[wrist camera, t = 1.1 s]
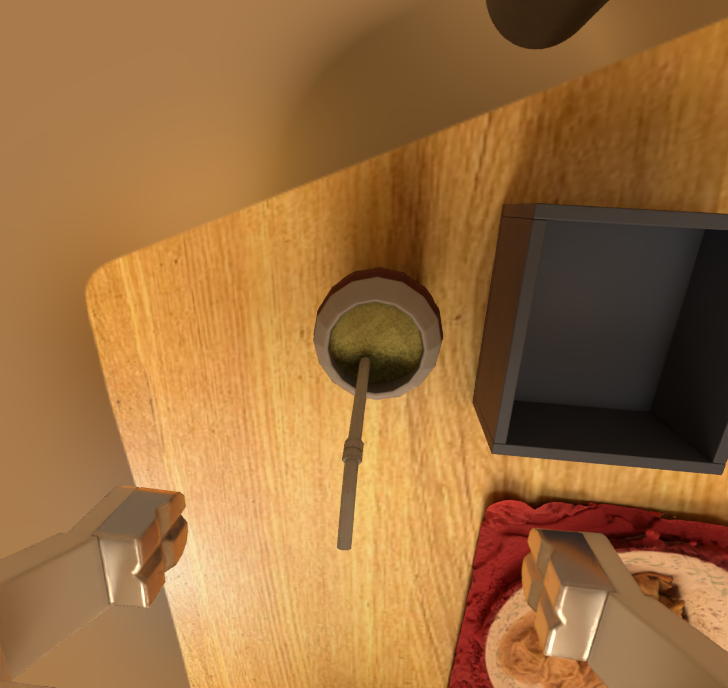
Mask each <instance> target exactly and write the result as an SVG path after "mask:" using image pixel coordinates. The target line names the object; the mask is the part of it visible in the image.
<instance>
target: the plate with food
mask: <svg viewBox="0 0 728 688" xmlns="http://www.w3.org/2000/svg"><path fill="white" fill-rule="evenodd" d="M587 505H588V506H582V505H577V506H576V507H575V506H574V505H572V504H566V503H563V502H560V503H559V502H551V503H547V504H544V505H542V506H541V507H539V508H537V509H533V508H531V507H530V506H528V505H526V503H523V502H521V501H514V500H506V501H500V502H497V503H495V504H493V505H491V506H489V507H488V509H487V510H486V513H485V521H484V522H482V525H481V530H480V535H479V541H478V545H477V551H476V554H475V559H474V565H473V574H472V585H471V586H470V590H469V594H468V598H467V608H466V612H465V615H464V619H463V623H462V627H461V633H460V637H459V641H458V644H457V650H456V657H455V664H454V668H453V669H452V672H451V679H450V685H449V688H608V687H607V686H606V685H605V684H604V682H603V681H602V680H601V679H600V678H599V677H598V675H597V674H596V673H595V672H594V671H593V670H592V669H591V667H590V666H589V665H588V664H587V663H588V662H587V661H581V660H574V659H567V658H560V657H554V656H547V655H544V653H543V650H542V647H541V644H540V641H539V638H538V635H537V632H536V629H535V626H534V620H535V616H536V612H535V611H534V610H533V609H532V608H531V607H530V606H529V605H528V604H527V602H526V598H525V595H524V591H523V585H522V566H523V560H524V557H525V556H526V555H528V554H529V553H530V552H531V550H530V547H529V545H528V542H527V541H528V537H529V533H530V531H531V530H532V528H541V529H552V530H563V531H573V532H578V531H579V532H592V533H602V534H603V535H605V536H606V537H607V538H608V540H609V541H610V543H611V545H612V546H613V548H614V549H615V551H616V552H617V554H618V555H619V557H620V558H621V560H622V561H623V563H624V564H625V566H626V568H627V569H628V571H629V572H630V574H631V575H632V577H633V578H634V580H635V581H636V583H637V584H638V586H639V588H640V589H641V591H642V592H643V594H644V595H645V596H650V597H653V598H655V599H656V600H658V601H659V602H660V603H662V604H663V605H664V606H666V607H667V608H668V609H670V610H671V611H673V612H674V613H675V614H677V615H678V616H679V617H681V618H682V619H684V620H685V621H686V622H688V623H689V624H690V625H692V626H693V627H694V628H696V629H697V630H699V631H700V632H701V633H703V634H704V635H705V636H707V637H708V638H709V639H711V640H712V641H714V642H715V643H716V644H718V645H719V646H720V647H722V648H723V649H724V650H726V651H727V652H728V527H727V526H725V525H723V526H721V525H716V524H709V523H703V522H693V521H685V520H667V519H663V518H660V517H662V516H663V515H665V514H664V513H663V512H661V513H659V512H656V511H652V512H649V511H646V510H643V509H637V508H629V507H625V508H623V507H622V506H615V505H608V504H602V503H601V505H596V504H595V503H592V502H589V504H587ZM675 517H676V516H674V519H675Z"/></svg>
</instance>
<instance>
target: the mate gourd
mask: <svg viewBox="0 0 728 688" xmlns="http://www.w3.org/2000/svg"><path fill="white" fill-rule="evenodd" d="M442 339H443V331H442V324H441V318H440V311H439V308H438V307H437V305H436V304H435V302H434V300H433V298H432V296H431V295H430V293H429V292H428V290H427V289H426V288H425V287H424V286H423V285H421V284H420V283H418V282H417V281H415V280H414V279H412V278H411V277H410V276H408V275H407V274H405V273H404V272H399V271H394V270H390V269H385V268H380V267H379V268H373V269H368V270H362V271H357V272H353V273H351V274H349V275H348V276H346V277H345V278H343V279H342V280H341V281H340V282H339V283H337V284H336V285H334V286H333V287H332V288H331V290H330V291H329V293H328V295H327V296H326V298H325V299H324V301H323V302H322V304H321V306H320V307H319V309H318V311H317V317H316V324H315V330H314V344H315V348H316V352H317V356H318V360H319V364H320V365H321V366H322V368H323V369H324V370H325V372H326V373H327V374H328V376H329V377H330V379H331V380H332V381H333V383H335V384H337V385H338V386H340V387H341V388H343V389H344V390H346V391H348V392H349V393H351V394H352V395H355V397H354V404H353V411H352V417H351V424H350V430H349V436H348V438H347V440H346V441H345V444H344V452H343V457H342V461H343V462H344V463H345V466H344V475H343V485H342V495H341V506H340V518H339V529H338V541H337V548H338V549H340V550H349V549H351V544H352V533H353V520H354V508H355V496H356V484H357V473H358V465H359V464H360V463H361V462H362V455H363V454H362V452H363V445H364V443H363V442H362V440H361V437H362V429H363V420H364V411H365V403H366V398H369V399H374V400H379V399H386V398H393V397H399V396H401V395H403V394H405V393H407V392H408V391H410V390H412V389H414V388H415V387H417V386H419V385H420V384H421V383H422V382H423V381H424V379H425V378H426V377H427V376H428V374H429V373H430V372H431V371H432V369H433V368H434V367H435V365H436V361H437V358H438V354H439V350H440V347H441V343H442Z"/></svg>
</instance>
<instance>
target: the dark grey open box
mask: <svg viewBox="0 0 728 688" xmlns="http://www.w3.org/2000/svg"><path fill="white" fill-rule="evenodd" d="M473 405H474V408H475V410H476V413H477V416H478V418H479V421H480V424H481V426H482V429H483V432H484V434H485V437H486V440H487V442H488V445H489V448H490V450H491V453H492V454H499V455H510V456H521V457H531V458H542V459H553V460H564V461H575V462H586V463H596V464H607V465H618V466H629V467H640V468H651V469H661V470H672V471H683V472H694V473H705V474H716V475H722V473H723V471H724V468H725V466H726V462H727V459H728V214H719V213H702V212H684V211H666V210H649V209H631V208H613V207H595V206H578V205H560V204H542V203H529V204H504V205H503V207H502V213H501V220H500V226H499V233H498V240H497V246H496V253H495V259H494V266H493V272H492V279H491V285H490V292H489V298H488V305H487V312H486V318H485V325H484V331H483V338H482V344H481V351H480V357H479V364H478V370H477V377H476V384H475V390H474V397H473Z"/></svg>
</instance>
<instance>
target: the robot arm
mask: <svg viewBox="0 0 728 688" xmlns="http://www.w3.org/2000/svg"><path fill="white" fill-rule="evenodd" d="M185 507H186V505H185V498H184V495H183V494H182V493H180V492H175V491H167V490H159V489H151V488H143V487H141V488H139V487H131V486H124V485H121V486H118V487H115V488H114V489H113V490H112V491H111V492H109V493H108V494H107V495H106V496H105V498H103V499H102V500H101V501H100V502H99V503H98V504H97V505H96V506H95V507H94V508H93V509H92V510H91V511H90V512H89V513H88V514H87V515H86V516H85V517H83V518H82V519H81V520H80V521H79V522H78V523H77V524H76V525H75V526H74V527H73V528H72V529H71V530H70V531H69V532H68V533H59V534H56V535H54V536H52V537H50V538H47V539H45V540H43V541H41V542H39V543H37V544H34V545H32V546H30V547H28V548H25V549H23V550H21V551H19V552H16V553H14V554H12V555H10V556H8V557H6V558H3V559H1V560H0V688H54V687H46V686H39V685H31V684H23V683H16V682H13V681H12V680H13V679H14V678H16V677H17V676H18V675H20V674H21V673H22V672H23V671H25V670H26V669H28V668H29V667H30V666H32V665H33V664H34V663H36V662H37V661H38V660H40V659H41V658H42V657H44V656H45V655H46V654H48V653H49V652H50V651H52V650H53V649H54V648H56V647H57V646H58V645H60V644H61V643H62V642H64V641H65V640H66V639H68V638H69V637H71V636H72V635H73V634H75V633H76V632H77V631H79V630H80V629H81V628H82V627H84V626H85V625H86V624H88V623H89V622H91V621H92V620H93V619H94V618H96V617H97V616H99V615H100V614H101V613H103V612H104V611H105V610H107V609H108V608H109V605H116V606H127V607H138V608H149V607H150V605H151V603H152V602H153V600H154V599H155V597H156V595H157V594H158V593H159V591H160V589H161V588H162V586H163V585H164V583H165V574H164V572H166V571H167V570H169V569H171V568H172V567H174V566H175V565H176V564H177V562H178V561H179V559H180V557H181V556H182V554H183V551H184V548H185V545H186V542H187V535H188V525H187V521H186V520H185V519H184V518H183V517H182V515H181V513H182V511H183V510H184V509H185ZM527 542H528V545H529V547H530V550H531V552H530V553H529V554H528V555H526V556H525V557H524V560H523V566H522V585H523V591H524V595H525V598H526V602H527V604H528V605H529V606H530V607H531V608H532V609H533V610H534V611H535V612H536V616H535V620H534V626H535V629H536V632H537V635H538V638H539V641H540V644H541V647H542V650H543V653H544V655H547V656H554V657H560V658H567V659H574V660H581V661H587V662H588V663H587V664H588V665H589V666H590V667H591V669H592V670H593V671H594V672H595V673H596V674H597V675H598V677H599V678H600V679H601V680H602V681H603V682H604V684H605V685H606V686H607V687H608V688H728V652H727V651H726V650H724V649H723V648H722V647H720V646H719V645H718V644H716V643H715V642H714V641H712V640H711V639H709V638H708V637H707V636H705V635H704V634H703V633H701V632H700V631H699V630H697V629H696V628H694V627H693V626H692V625H690V624H689V623H688V622H686V621H685V620H684V619H682V618H681V617H679V616H678V615H677V614H675V613H674V612H673V611H671V610H670V609H668V608H667V607H666V606H664V605H663V604H662V603H660V602H659V601H658V600H656V599H655V598H653V597H650V596H645V595H644V594H643V592H642V591H641V589H640V588H639V586H638V584H637V583H636V581H635V580H634V578H633V577H632V575H631V574H630V572H629V571H628V569H627V568H626V566H625V564H624V563H623V561H622V560H621V558H620V557H619V555H618V554H617V552H616V551H615V549H614V548H613V546H612V545H611V543H610V541H609V540H608V538H607V537H606V536H605V535H603V534H602V533H592V532H579V531H578V532H573V531H563V530H552V529H541V528H532V530H531V531H530V533H529V537H528V541H527Z"/></svg>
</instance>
